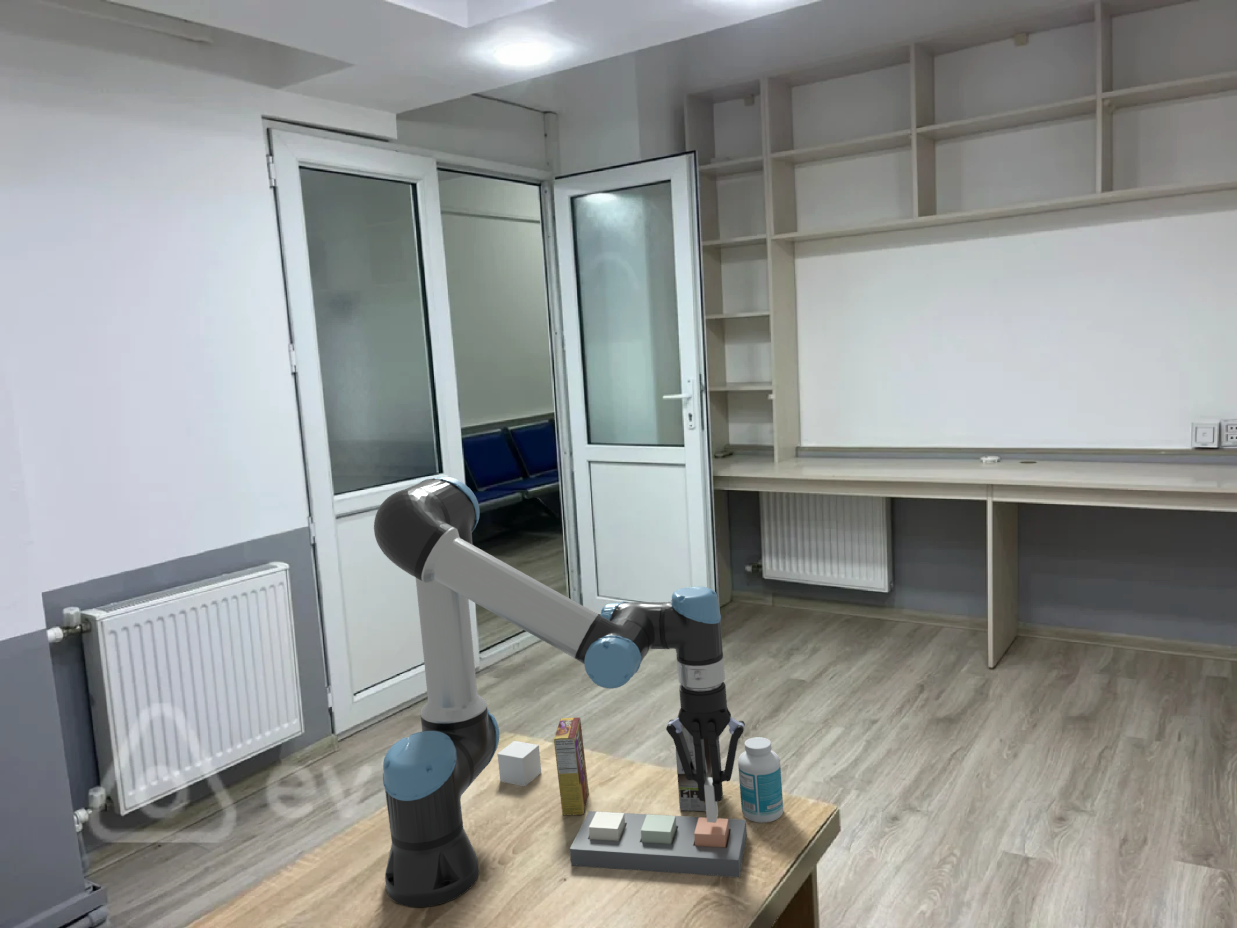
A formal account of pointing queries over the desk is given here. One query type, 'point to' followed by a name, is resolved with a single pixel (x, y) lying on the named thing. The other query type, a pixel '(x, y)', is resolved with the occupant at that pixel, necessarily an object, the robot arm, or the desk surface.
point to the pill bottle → (760, 781)
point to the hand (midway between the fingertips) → (712, 817)
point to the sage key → (658, 829)
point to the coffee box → (690, 787)
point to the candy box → (571, 766)
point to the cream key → (607, 826)
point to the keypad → (661, 849)
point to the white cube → (519, 763)
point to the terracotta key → (712, 833)
